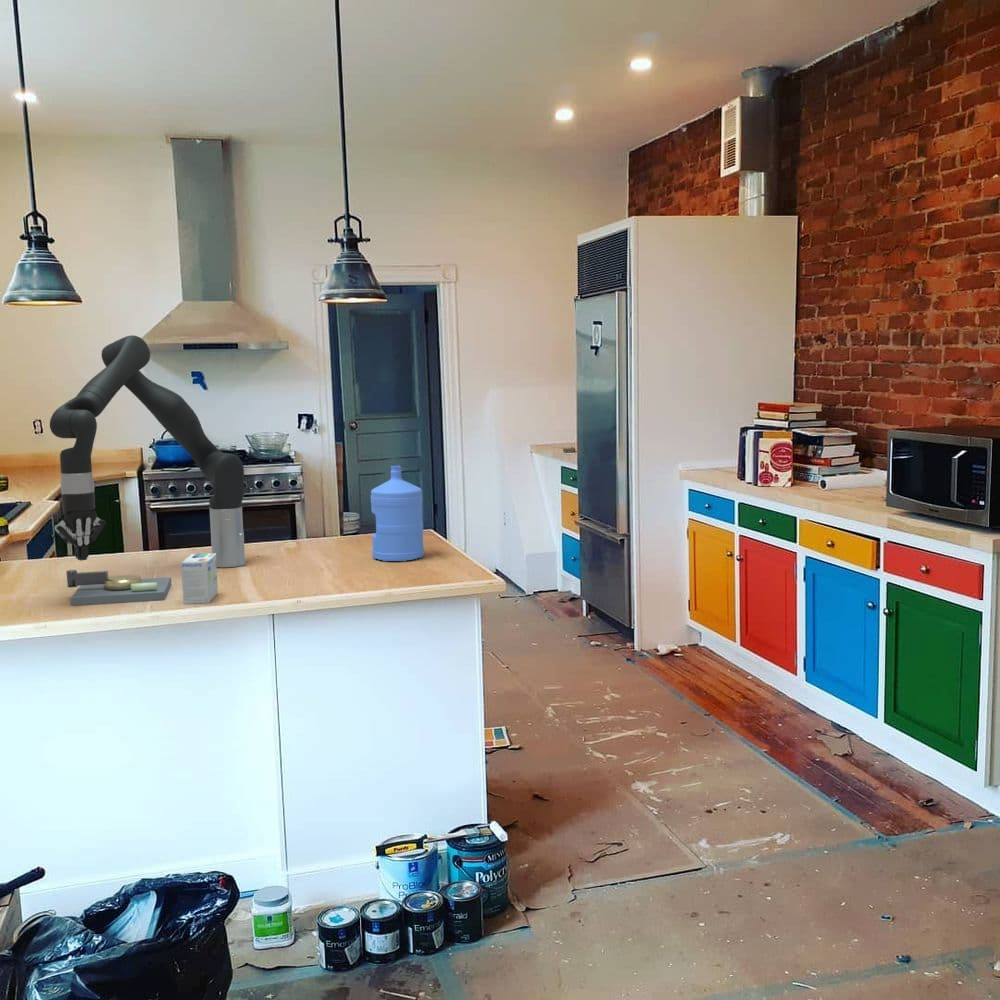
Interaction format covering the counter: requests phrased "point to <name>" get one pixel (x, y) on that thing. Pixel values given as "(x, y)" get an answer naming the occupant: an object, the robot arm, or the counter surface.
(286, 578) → the counter surface
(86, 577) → the tan disc with handle
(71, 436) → the robot arm
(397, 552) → the water jug
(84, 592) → the instrument base
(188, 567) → the light bulb box
